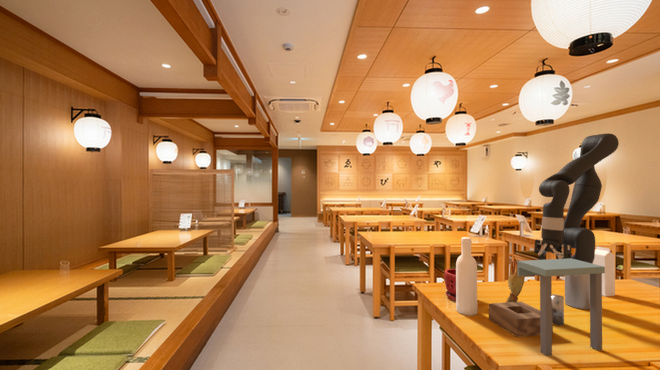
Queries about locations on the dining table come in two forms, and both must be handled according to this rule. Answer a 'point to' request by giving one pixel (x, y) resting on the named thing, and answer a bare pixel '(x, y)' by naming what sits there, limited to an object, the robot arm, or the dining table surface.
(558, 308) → the peg
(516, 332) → the socket block
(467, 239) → the bottle
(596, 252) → the milk
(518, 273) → the small grey stool
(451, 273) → the plant pot
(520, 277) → the crab claw
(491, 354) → the dining table surface
